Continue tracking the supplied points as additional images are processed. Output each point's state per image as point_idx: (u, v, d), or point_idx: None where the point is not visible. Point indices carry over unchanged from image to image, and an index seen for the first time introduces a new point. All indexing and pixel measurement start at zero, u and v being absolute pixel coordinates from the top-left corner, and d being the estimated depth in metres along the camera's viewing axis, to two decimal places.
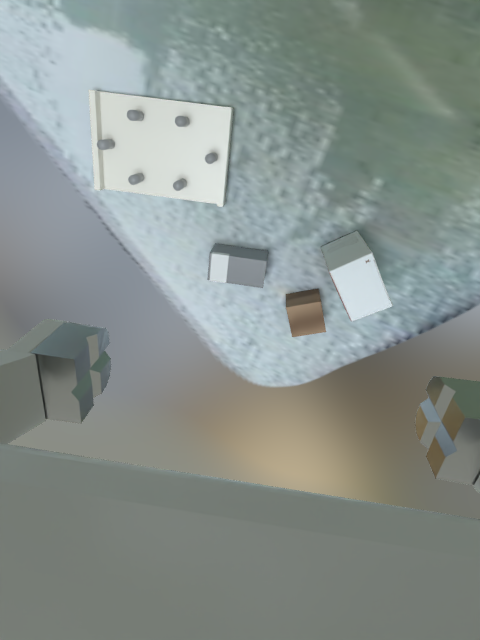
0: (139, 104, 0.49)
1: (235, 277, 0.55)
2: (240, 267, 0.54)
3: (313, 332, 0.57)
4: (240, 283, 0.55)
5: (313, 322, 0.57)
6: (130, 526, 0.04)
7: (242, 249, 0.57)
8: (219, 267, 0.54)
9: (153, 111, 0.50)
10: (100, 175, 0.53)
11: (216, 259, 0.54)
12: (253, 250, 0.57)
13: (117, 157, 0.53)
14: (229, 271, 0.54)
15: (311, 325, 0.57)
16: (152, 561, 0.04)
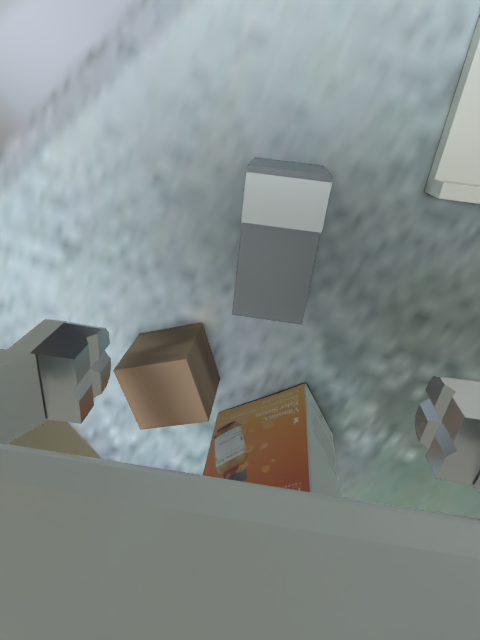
0: None
1: (258, 246, 0.20)
2: (286, 261, 0.20)
3: (134, 409, 0.26)
4: (241, 260, 0.21)
5: (157, 409, 0.26)
6: (130, 526, 0.04)
7: None
8: (288, 202, 0.19)
9: None
10: None
11: (312, 196, 0.19)
12: None
13: None
14: (275, 231, 0.20)
15: (150, 405, 0.26)
16: (152, 561, 0.04)
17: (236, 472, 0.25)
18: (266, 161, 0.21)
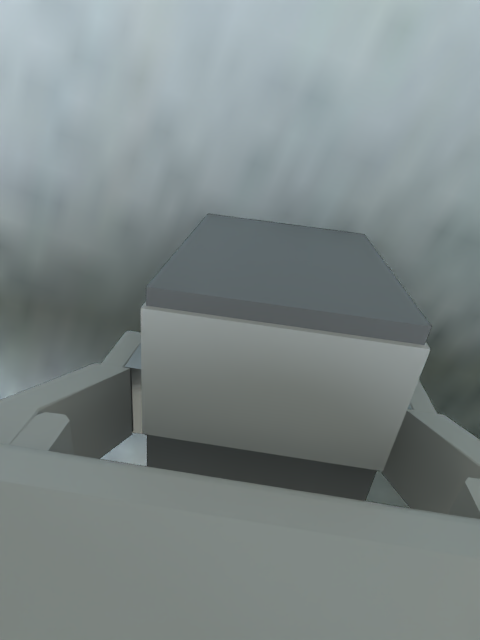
0: None
1: None
2: None
3: None
4: None
5: None
6: (130, 526, 0.04)
7: None
8: (282, 391, 0.06)
9: None
10: None
11: (361, 383, 0.06)
12: None
13: None
14: (245, 457, 0.07)
15: None
16: (152, 561, 0.04)
17: None
18: (226, 235, 0.08)
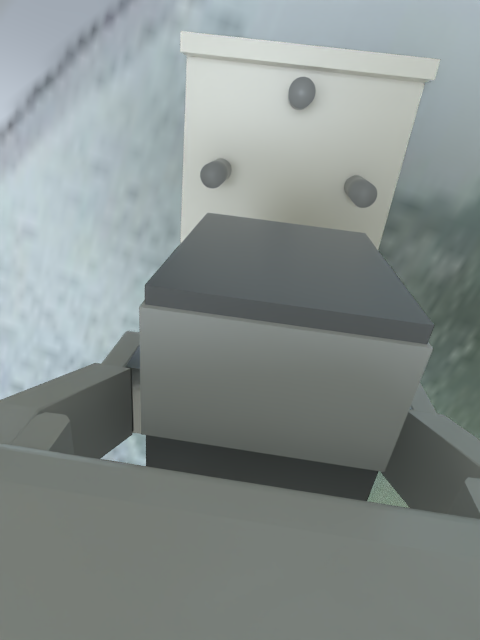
0: (378, 189, 0.22)
1: None
2: None
3: None
4: None
5: None
6: (130, 526, 0.04)
7: None
8: (283, 391, 0.06)
9: (359, 221, 0.22)
10: (221, 57, 0.19)
11: (362, 383, 0.06)
12: None
13: (266, 111, 0.20)
14: (245, 458, 0.07)
15: None
16: (152, 561, 0.04)
17: None
18: (226, 234, 0.08)
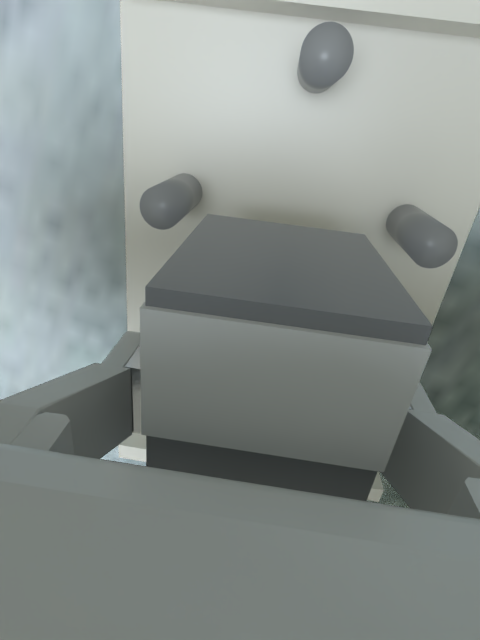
0: None
1: None
2: None
3: None
4: None
5: None
6: (130, 526, 0.04)
7: None
8: (283, 392, 0.06)
9: (407, 276, 0.14)
10: None
11: (361, 384, 0.06)
12: None
13: (259, 96, 0.12)
14: (245, 459, 0.07)
15: None
16: (152, 561, 0.04)
17: None
18: (226, 235, 0.08)
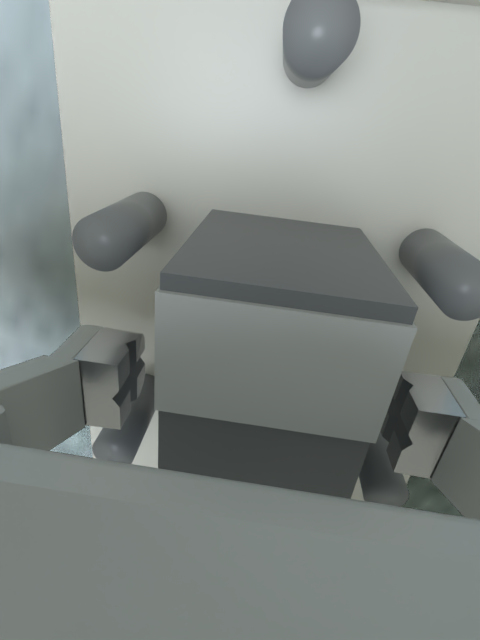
0: None
1: (208, 459, 0.08)
2: None
3: None
4: None
5: None
6: (130, 526, 0.04)
7: None
8: (283, 369, 0.07)
9: (425, 316, 0.11)
10: None
11: (355, 360, 0.06)
12: None
13: (234, 93, 0.09)
14: (249, 432, 0.07)
15: None
16: (152, 561, 0.04)
17: None
18: (230, 228, 0.09)
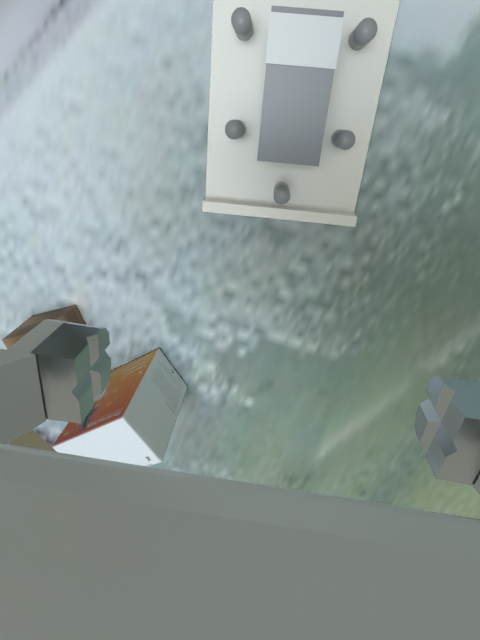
0: (377, 41, 0.26)
1: (281, 88, 0.23)
2: (305, 102, 0.23)
3: None
4: (265, 103, 0.24)
5: None
6: (130, 526, 0.04)
7: None
8: (306, 40, 0.22)
9: (362, 73, 0.27)
10: None
11: (327, 32, 0.22)
12: None
13: None
14: (295, 71, 0.23)
15: None
16: (152, 561, 0.04)
17: (92, 409, 0.34)
18: None
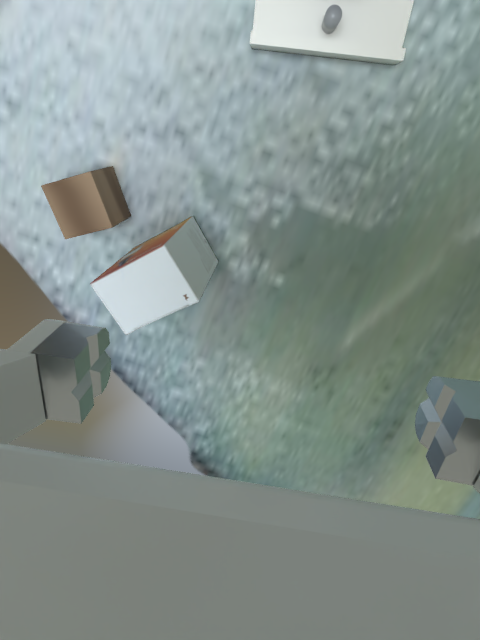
0: None
1: None
2: None
3: (58, 220, 0.36)
4: None
5: (75, 219, 0.36)
6: (130, 526, 0.04)
7: None
8: None
9: None
10: None
11: None
12: None
13: None
14: None
15: (69, 215, 0.36)
16: (152, 561, 0.04)
17: (129, 257, 0.35)
18: None
